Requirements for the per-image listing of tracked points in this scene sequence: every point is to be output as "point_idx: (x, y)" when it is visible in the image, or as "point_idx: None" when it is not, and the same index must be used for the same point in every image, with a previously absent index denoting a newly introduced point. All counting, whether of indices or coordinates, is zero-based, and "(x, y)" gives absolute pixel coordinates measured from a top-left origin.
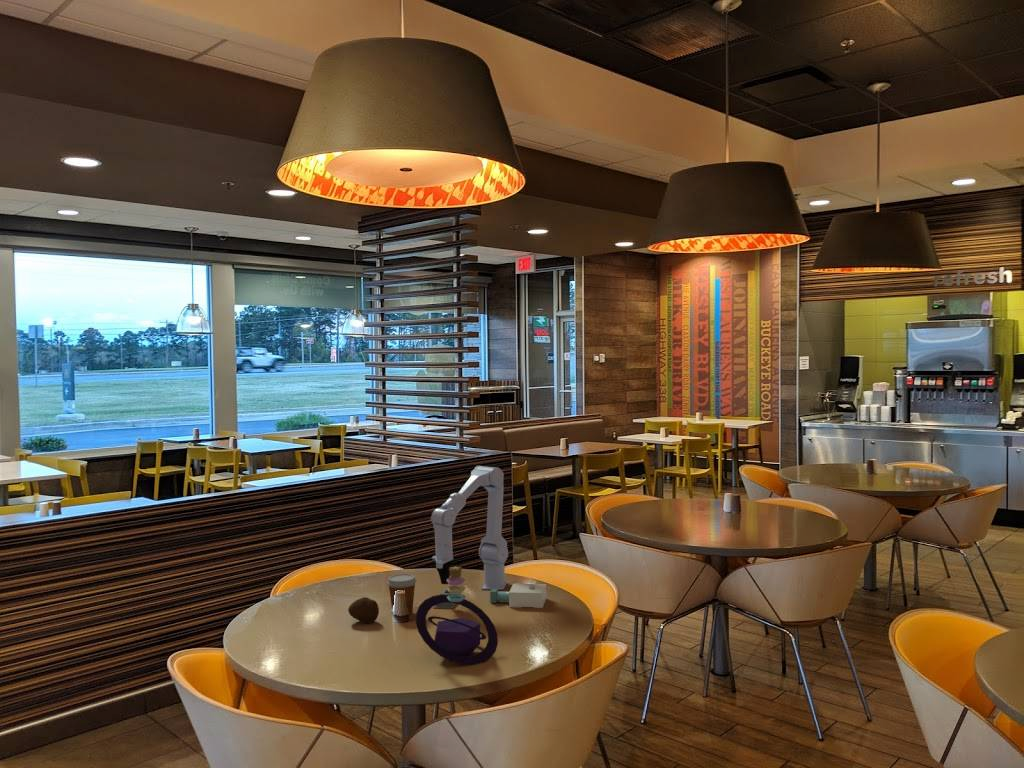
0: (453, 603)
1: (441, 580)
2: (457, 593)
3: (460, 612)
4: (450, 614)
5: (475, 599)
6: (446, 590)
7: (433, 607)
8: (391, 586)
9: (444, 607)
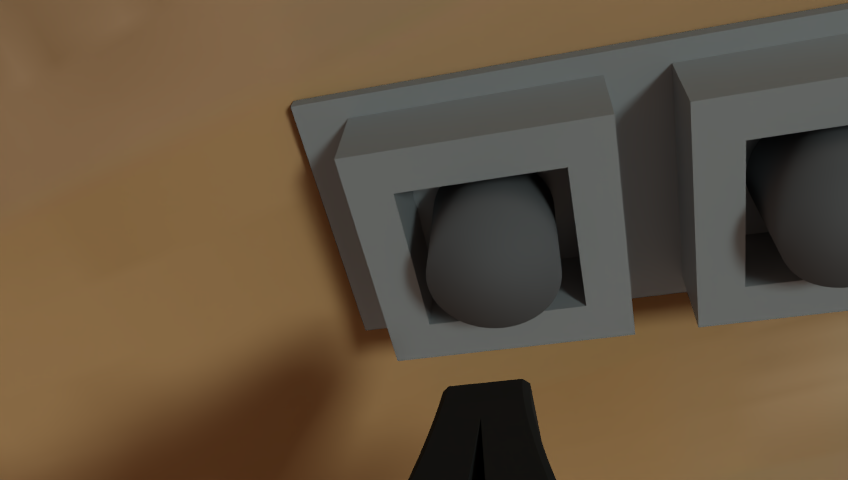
0: None
1: (427, 452)
2: (779, 311)
3: (288, 423)
4: (186, 362)
5: (761, 431)
6: (806, 182)
7: (294, 109)
8: None
9: (342, 246)
